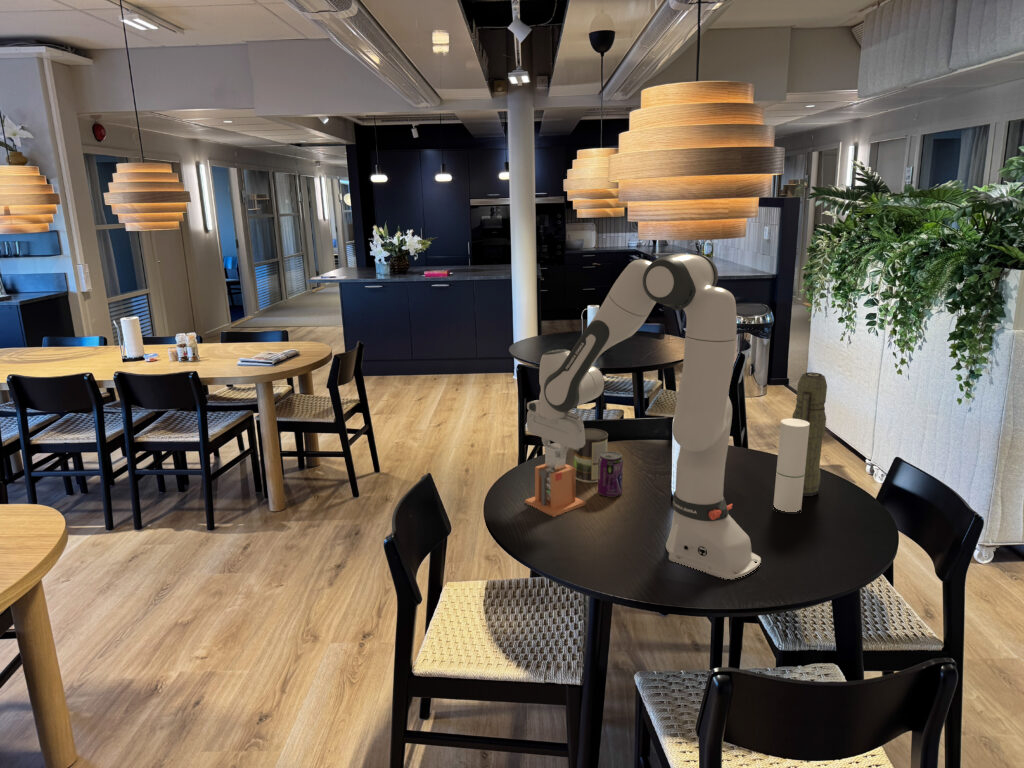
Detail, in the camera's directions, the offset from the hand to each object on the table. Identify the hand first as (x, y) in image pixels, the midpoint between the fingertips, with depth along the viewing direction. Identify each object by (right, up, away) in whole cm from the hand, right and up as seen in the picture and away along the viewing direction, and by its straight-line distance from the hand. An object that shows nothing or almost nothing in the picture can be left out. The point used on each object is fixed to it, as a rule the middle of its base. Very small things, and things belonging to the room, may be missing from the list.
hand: (555, 455), depth 197 cm
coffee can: (+12, -9, +23) cm, 28 cm away
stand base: (0, -14, +4) cm, 14 cm away
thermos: (+73, -11, +11) cm, 74 cm away
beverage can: (+16, -12, +10) cm, 23 cm away
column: (0, -13, +3) cm, 13 cm away
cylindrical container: (+64, -15, -1) cm, 65 cm away
